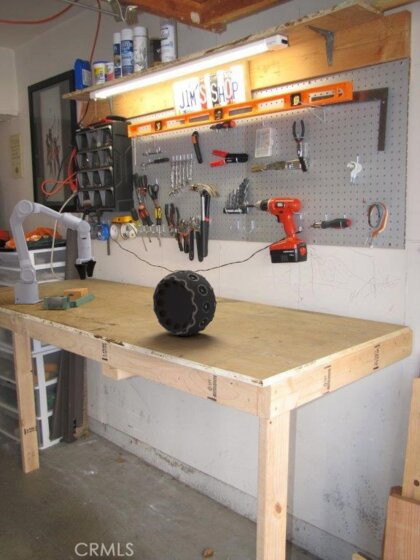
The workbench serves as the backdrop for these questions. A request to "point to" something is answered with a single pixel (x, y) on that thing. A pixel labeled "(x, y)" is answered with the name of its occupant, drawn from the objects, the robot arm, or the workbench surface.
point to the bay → (66, 301)
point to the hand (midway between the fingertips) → (86, 278)
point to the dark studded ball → (184, 303)
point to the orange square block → (76, 293)
